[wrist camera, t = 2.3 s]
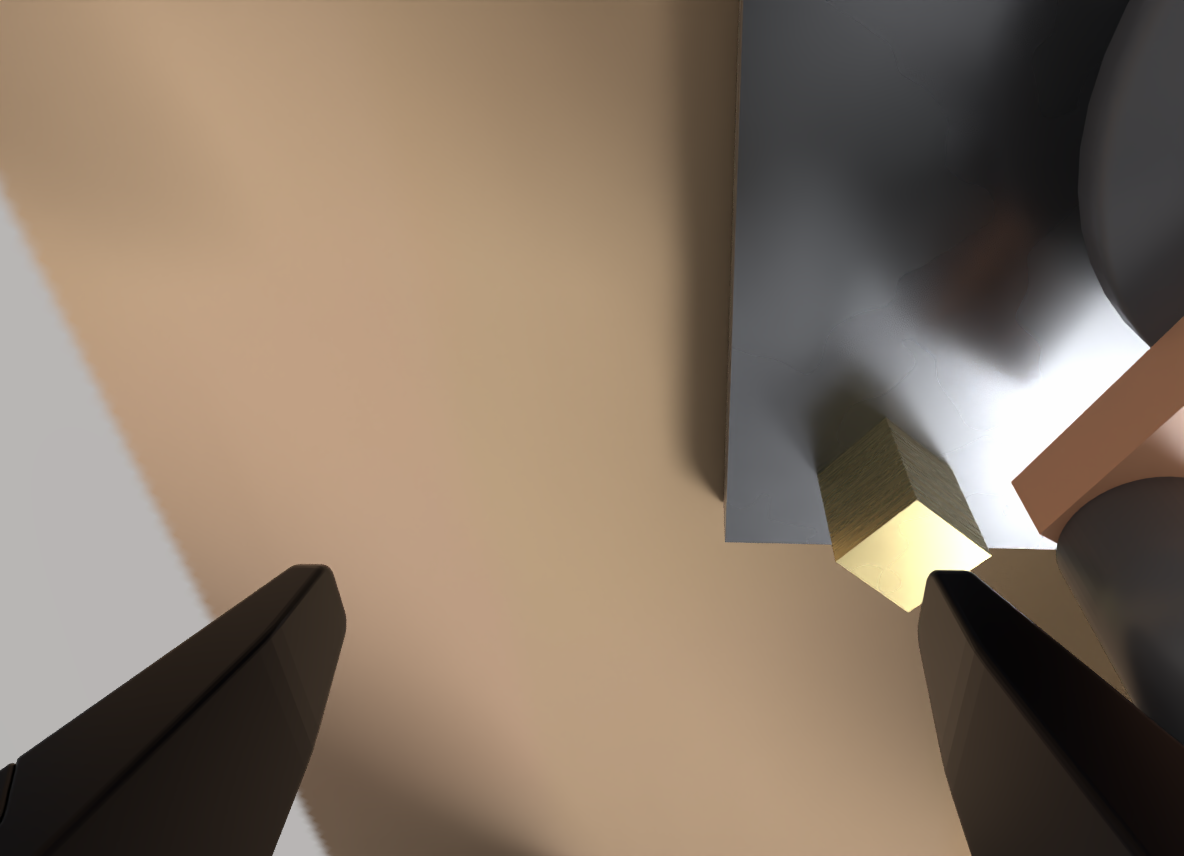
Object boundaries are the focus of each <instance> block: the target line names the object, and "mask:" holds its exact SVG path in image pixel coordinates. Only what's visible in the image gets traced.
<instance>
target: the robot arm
mask: <svg viewBox="0 0 1184 856" xmlns="http://www.w3.org/2000/svg"><path fill="white" fill-rule="evenodd" d="M345 632H346V614H345V610H344V607H343V604H342V600H341V597H340V594H339V591H338V587H337V584H336V581H335V577H334V575H333V572H332V570H331V569H330V568H329V567H328V566H326V565H323V564H298V565H294V566H292V567H290V568H288V569H287V570H286V571H284V572H283V573H281V574H280V575H278V576H277V577H276V578H274V579H273V580H271V581H270V582H268V583H267V584H266V585H264V586H263V587H261V588H260V589H258V590H257V591H256V592H254V593H253V594H251V595H250V596H248V597H247V598H246V599H244V600H243V601H241V602H240V603H238V604H237V605H236V606H234V607H233V608H231V609H230V610H229V611H227V612H226V613H224V614H223V615H221V616H220V617H219V618H217V619H216V620H214V621H213V622H211V623H210V624H209V625H207V626H206V627H204V628H203V629H201V630H200V631H199V632H197V633H196V634H194V635H193V636H191V637H190V638H189V639H187V640H186V641H184V642H183V643H181V644H180V645H179V646H177V647H176V648H174V649H173V650H171V651H170V652H169V653H167V654H166V655H164V656H163V657H162V658H160V659H159V660H157V661H156V662H155V663H153V664H152V665H150V666H149V667H147V668H146V669H144V670H143V671H142V672H140V673H139V674H137V675H136V676H134V677H133V678H132V679H130V680H129V681H127V682H126V683H124V684H123V685H122V686H120V687H119V688H117V689H116V690H114V691H113V692H112V693H110V694H109V695H107V696H106V697H104V698H103V699H102V700H100V701H99V702H97V703H96V704H94V705H93V706H92V707H90V708H89V709H87V710H86V711H84V712H83V713H82V714H80V715H79V716H77V717H76V718H75V719H73V720H72V721H70V722H69V723H67V724H66V725H64V726H63V727H62V728H60V729H59V730H57V731H56V732H55V733H53V734H52V735H50V736H49V737H47V738H46V739H44V740H43V741H42V742H40V743H39V744H37V745H36V746H34V747H33V748H32V749H30V750H29V751H27V752H26V753H24V754H23V755H22V756H20V757H19V758H18V759H17V762H16V764H14V763H11V764H9V765H7V766H6V767H5V768H3V769H2V770H0V856H272V855H273V852H274V850H275V847H276V845H277V842H278V839H279V837H280V834H281V832H282V829H283V827H284V824H285V822H286V819H287V816H288V814H289V811H290V809H291V806H292V804H293V801H294V799H295V796H296V794H297V791H298V789H299V786H300V783H301V781H302V778H303V776H304V773H305V771H306V768H307V765H308V763H309V760H310V757H311V754H312V752H313V749H314V745H315V742H316V739H317V736H318V732H319V729H320V725H321V721H322V718H323V714H324V710H325V707H326V703H327V699H328V696H329V692H330V688H331V685H332V681H333V677H334V674H335V670H336V666H337V663H338V659H339V655H340V651H341V648H342V644H343V640H344V637H345ZM918 642H919V648H920V653H921V658H922V663H923V668H924V673H925V678H926V683H927V688H928V693H929V698H930V703H931V708H932V713H933V718H934V723H935V727H936V732H937V737H938V742H939V747H940V752H941V757H942V761H943V766H944V770H945V774H946V777H947V781H948V784H949V788H950V791H951V794H952V797H953V800H954V804H955V807H956V810H957V813H958V816H959V819H960V822H961V825H962V828H963V831H964V834H965V837H966V840H967V843H968V846H969V849H970V852H971V855H972V856H1184V745H1183V744H1182V743H1180V742H1179V741H1178V740H1177V739H1176V738H1174V737H1173V736H1172V735H1171V734H1169V733H1168V732H1167V731H1166V730H1165V729H1163V728H1162V727H1161V726H1160V725H1158V724H1157V723H1156V722H1155V721H1154V720H1152V719H1151V718H1150V717H1149V716H1147V715H1146V714H1145V713H1144V712H1143V711H1141V710H1140V709H1139V708H1138V707H1136V706H1135V705H1134V704H1133V703H1131V702H1130V701H1129V700H1128V699H1127V698H1125V697H1124V696H1123V695H1122V694H1120V693H1119V692H1118V691H1117V690H1116V689H1114V688H1113V687H1112V686H1111V685H1109V684H1108V683H1107V682H1106V681H1105V680H1103V679H1102V678H1101V677H1100V676H1098V675H1097V674H1096V673H1095V672H1094V671H1092V670H1091V669H1090V668H1089V667H1087V666H1086V665H1085V664H1084V663H1082V662H1081V661H1080V660H1079V659H1078V658H1076V657H1075V656H1074V655H1073V654H1071V653H1070V652H1069V651H1068V650H1067V649H1065V648H1064V647H1063V646H1062V645H1060V644H1059V643H1058V642H1057V641H1056V640H1054V639H1053V638H1052V637H1051V636H1049V635H1048V634H1047V633H1046V632H1045V631H1043V630H1042V629H1041V628H1040V627H1038V626H1037V625H1036V624H1035V623H1033V622H1032V621H1031V620H1030V619H1029V618H1027V617H1026V616H1025V615H1024V614H1022V613H1021V612H1020V611H1019V610H1018V609H1016V608H1015V607H1014V606H1013V605H1011V604H1010V603H1009V602H1008V601H1007V600H1005V599H1004V598H1003V597H1002V596H1000V595H999V594H998V593H997V592H996V591H994V590H993V589H992V588H991V587H989V586H988V585H987V584H986V583H984V582H983V581H982V580H981V579H980V578H978V577H977V576H976V575H975V574H973V573H971V572H969V571H965V570H934V571H932V572H931V573H930V574H929V576H928V578H927V580H926V585H925V590H924V596H923V601H922V606H921V611H920V617H919V622H918Z"/></svg>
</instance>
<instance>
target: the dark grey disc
mask: <svg viewBox="0 0 1184 856" xmlns="http://www.w3.org/2000/svg"><path fill="white" fill-rule="evenodd" d="M1078 199H1079V210H1080V220H1081V230H1082V233H1083V237H1084V241H1085V245H1086V249H1087V252H1088V256H1089V260H1090V264H1091V266H1092V268H1093V270H1094V272H1095V275H1096V277H1097V279H1098V281H1099V283H1100V285H1101V287H1102V290H1103V292H1104V294H1105V296H1106V297H1107V298H1108V300H1109V301H1110V303H1111V304H1112V306H1113V307H1114V308H1115V310H1116V311H1117V313H1118V314H1119V315H1120V317H1121V318H1122V320H1123V321H1124V322H1125V323H1126V324H1127V325H1128V326H1129V327H1130V328H1131V329H1132V330H1133V331H1134V332H1135V333H1136V334H1137V335H1138V336H1139V337H1140V338H1141V339H1142V340H1143V341H1144V342H1145V343H1146V344H1147V345H1148V346H1149V347H1150V349H1149V350H1148V351H1147V352H1146V353H1145V354H1144V355H1143V356H1142V357H1141V358H1140V359H1138V360H1137V361H1136V362H1135V363H1134V364H1133V365H1132V366H1131V367H1130V368H1129V369H1128V370H1127V371H1126V372H1125V373H1124V374H1123V375H1122V376H1121V377H1120V378H1119V379H1118V380H1117V381H1116V382H1115V383H1113V384H1112V385H1111V386H1110V387H1109V388H1108V389H1107V390H1106V391H1105V392H1104V393H1103V394H1102V395H1101V396H1100V397H1099V398H1098V399H1097V400H1096V401H1095V402H1094V403H1093V404H1092V405H1091V406H1089V407H1088V408H1087V409H1086V410H1085V411H1084V412H1083V413H1082V414H1081V415H1080V416H1079V417H1078V418H1077V419H1076V420H1075V421H1074V422H1073V423H1072V424H1071V425H1070V426H1069V427H1068V428H1067V429H1065V430H1064V431H1063V432H1062V433H1061V434H1060V435H1059V436H1058V437H1057V438H1056V439H1055V440H1054V441H1053V442H1052V443H1051V444H1050V445H1049V446H1048V447H1047V448H1046V449H1045V450H1044V451H1043V452H1042V453H1040V454H1039V455H1038V456H1037V457H1036V458H1035V459H1034V460H1033V461H1032V462H1031V463H1030V464H1029V465H1028V466H1027V467H1026V468H1025V469H1024V470H1023V471H1022V472H1021V473H1020V474H1019V475H1018V476H1016V477H1015V478H1014V479H1013V480H1012V481H1011V484H1012V485H1013V487H1014V489H1015V491H1016V493H1017V494H1018V496H1019V498H1020V500H1021V502H1022V504H1023V505H1024V507H1025V509H1026V511H1027V513H1028V514H1029V516H1030V518H1031V520H1032V522H1033V523H1034V525H1035V527H1036V529H1037V531H1038V533H1039V534H1040V535H1042V536H1044V537H1046V538H1047V539H1049V540H1051V541H1053V542H1055V543H1057V547H1056V559H1057V564H1058V567H1059V570H1060V571H1061V573H1062V575H1063V577H1064V579H1065V581H1066V582H1067V584H1068V586H1069V588H1070V590H1071V591H1072V593H1073V595H1074V597H1075V599H1076V600H1077V602H1078V604H1079V606H1080V608H1081V610H1082V611H1083V613H1084V615H1085V617H1086V619H1087V620H1088V622H1089V624H1090V626H1091V628H1092V629H1093V631H1094V633H1095V635H1096V637H1097V638H1098V640H1099V642H1100V644H1101V646H1102V648H1103V649H1104V651H1105V653H1106V655H1107V657H1108V658H1109V660H1110V662H1111V664H1112V666H1113V667H1114V669H1115V671H1116V673H1117V675H1118V677H1119V678H1120V680H1121V682H1122V684H1123V686H1124V687H1125V689H1126V691H1127V693H1128V695H1129V696H1130V698H1131V700H1132V702H1133V704H1134V705H1135V706H1136V707H1138V708H1139V709H1140V710H1141V711H1143V712H1144V713H1145V714H1146V715H1147V716H1149V717H1150V718H1151V719H1152V720H1154V721H1155V722H1156V723H1157V724H1158V725H1160V726H1161V727H1162V728H1163V729H1165V730H1166V731H1167V732H1168V733H1169V734H1171V735H1172V736H1173V737H1174V738H1176V739H1177V740H1178V741H1179V742H1180V743H1182V744H1183V745H1184V0H1130V1H1129V2H1128V4H1127V6H1126V8H1125V11H1124V13H1123V15H1122V17H1121V19H1120V22H1119V24H1118V26H1117V28H1116V30H1115V33H1114V35H1113V37H1112V39H1111V42H1110V44H1109V46H1108V48H1107V50H1106V53H1105V55H1104V58H1103V61H1102V64H1101V67H1100V70H1099V73H1098V76H1097V79H1096V83H1095V86H1094V89H1093V92H1092V95H1091V98H1090V101H1089V105H1088V110H1087V115H1086V120H1085V125H1084V131H1083V136H1082V141H1081V146H1080V158H1079V176H1078Z"/></svg>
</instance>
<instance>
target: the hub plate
mask: <svg viewBox="0 0 1184 856" xmlns="http://www.w3.org/2000/svg"><path fill="white" fill-rule="evenodd" d="M1129 1H1130V0H739V21H738V53H737V85H736V118H735V150H734V182H733V215H732V247H731V279H730V312H729V344H728V376H727V409H726V441H725V473H724V527H725V542H745V543H789V544H832V547H833V552H834V556H835V561H836V562H837V563H838V564H840V565H841V566H842V567H844V568H845V569H847V570H848V571H850V572H851V573H852V574H854V575H855V576H857V577H858V578H860V579H861V580H862V581H864V582H865V583H867V584H868V585H870V586H871V587H872V588H874V589H875V590H877V591H878V592H880V593H881V594H883V595H884V596H885V597H887V598H888V599H890V600H891V601H893V602H894V603H895V604H897V605H898V606H900V607H901V608H903V609H904V610H905V611H907V612H910V611H911V610H913V609H914V608H916V607H917V606H919V605H920V604H921V603H922V601H923V596H924V590H925V585H926V580H927V578H928V576H929V574H930V573H931V572H932V571H934V570H965V571H970V570H971V569H973V568H974V567H976V566H977V565H979V564H980V563H982V562H983V561H985V560H986V559H988V558H989V557H991V554H990V551H989V549H988V548H1010V549H1055V550H1056V547H1057V543H1055V542H1053V541H1051V540H1049V539H1047V538H1046V537H1044V536H1042V535H1040V534H1039V533H1038V531H1037V529H1036V527H1035V525H1034V523H1033V522H1032V520H1031V518H1030V516H1029V514H1028V513H1027V511H1026V509H1025V507H1024V505H1023V504H1022V502H1021V500H1020V498H1019V496H1018V494H1017V493H1016V491H1015V489H1014V487H1013V485H1012V484H1011V481H1012V480H1013V479H1014V478H1015V477H1016V476H1018V475H1019V474H1020V473H1021V472H1022V471H1023V470H1024V469H1025V468H1026V467H1027V466H1028V465H1029V464H1030V463H1031V462H1032V461H1033V460H1034V459H1035V458H1036V457H1037V456H1038V455H1039V454H1040V453H1042V452H1043V451H1044V450H1045V449H1046V448H1047V447H1048V446H1049V445H1050V444H1051V443H1052V442H1053V441H1054V440H1055V439H1056V438H1057V437H1058V436H1059V435H1060V434H1061V433H1062V432H1063V431H1064V430H1065V429H1067V428H1068V427H1069V426H1070V425H1071V424H1072V423H1073V422H1074V421H1075V420H1076V419H1077V418H1078V417H1079V416H1080V415H1081V414H1082V413H1083V412H1084V411H1085V410H1086V409H1087V408H1088V407H1089V406H1091V405H1092V404H1093V403H1094V402H1095V401H1096V400H1097V399H1098V398H1099V397H1100V396H1101V395H1102V394H1103V393H1104V392H1105V391H1106V390H1107V389H1108V388H1109V387H1110V386H1111V385H1112V384H1113V383H1115V382H1116V381H1117V380H1118V379H1119V378H1120V377H1121V376H1122V375H1123V374H1124V373H1125V372H1126V371H1127V370H1128V369H1129V368H1130V367H1131V366H1132V365H1133V364H1134V363H1135V362H1136V361H1137V360H1138V359H1140V358H1141V357H1142V356H1143V355H1144V354H1145V353H1146V352H1147V351H1148V350H1149V349H1150V347H1149V346H1148V345H1147V344H1146V343H1145V342H1144V341H1143V340H1142V339H1141V338H1140V337H1139V336H1138V335H1137V334H1136V333H1135V332H1134V331H1133V330H1132V329H1131V328H1130V327H1129V326H1128V325H1127V324H1126V323H1125V322H1124V321H1123V320H1122V318H1121V317H1120V315H1119V314H1118V313H1117V311H1116V310H1115V308H1114V307H1113V306H1112V304H1111V303H1110V301H1109V300H1108V298H1107V297H1106V296H1105V294H1104V292H1103V290H1102V287H1101V285H1100V283H1099V281H1098V279H1097V277H1096V275H1095V272H1094V270H1093V268H1092V266H1091V264H1090V260H1089V256H1088V252H1087V249H1086V245H1085V241H1084V237H1083V233H1082V230H1081V220H1080V210H1079V199H1078V176H1079V158H1080V146H1081V141H1082V136H1083V131H1084V125H1085V120H1086V115H1087V110H1088V105H1089V101H1090V98H1091V95H1092V92H1093V89H1094V86H1095V83H1096V79H1097V76H1098V73H1099V70H1100V67H1101V64H1102V61H1103V58H1104V55H1105V53H1106V50H1107V48H1108V46H1109V44H1110V42H1111V39H1112V37H1113V35H1114V33H1115V30H1116V28H1117V26H1118V24H1119V22H1120V19H1121V17H1122V15H1123V13H1124V11H1125V8H1126V6H1127V4H1128V2H1129Z"/></svg>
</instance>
